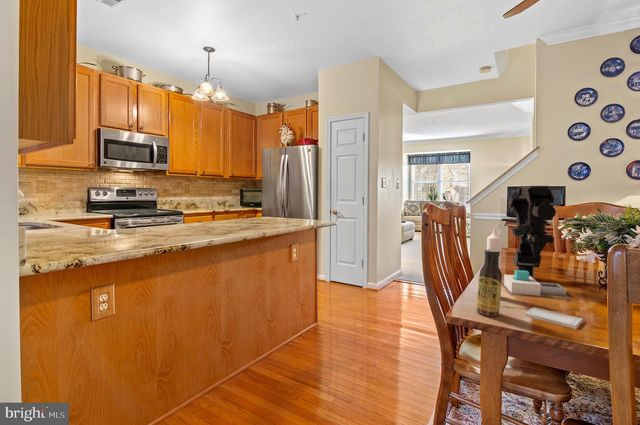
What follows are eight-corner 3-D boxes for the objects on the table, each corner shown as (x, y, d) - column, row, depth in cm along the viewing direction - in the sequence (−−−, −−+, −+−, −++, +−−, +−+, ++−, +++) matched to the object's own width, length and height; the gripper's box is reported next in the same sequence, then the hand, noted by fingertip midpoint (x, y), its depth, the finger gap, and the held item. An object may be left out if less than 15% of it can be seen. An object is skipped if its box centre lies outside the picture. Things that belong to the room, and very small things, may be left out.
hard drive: (525, 312, 98) (576, 325, 88) (534, 306, 103) (583, 317, 93) (524, 317, 98) (576, 330, 88) (534, 311, 103) (583, 323, 93)
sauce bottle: (473, 313, 99) (475, 249, 98) (480, 308, 104) (482, 247, 103) (496, 319, 95) (498, 252, 94) (503, 314, 99) (505, 250, 98)
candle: (500, 296, 116) (503, 227, 114) (506, 303, 109) (509, 229, 107) (479, 295, 118) (481, 227, 116) (483, 301, 111) (485, 229, 109)
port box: (503, 284, 128) (504, 274, 128) (530, 286, 125) (530, 276, 125) (511, 293, 117) (511, 282, 116) (540, 295, 114) (540, 284, 113)
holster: (533, 288, 122) (534, 281, 122) (558, 290, 120) (558, 283, 120) (539, 293, 116) (540, 286, 116) (565, 295, 114) (565, 288, 113)
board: (501, 285, 130) (501, 282, 130) (555, 289, 124) (555, 287, 124) (511, 297, 115) (511, 294, 115) (573, 303, 109) (573, 300, 109)
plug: (513, 288, 123) (514, 270, 123) (525, 289, 122) (526, 270, 121) (516, 290, 120) (516, 271, 120) (528, 291, 119) (529, 272, 118)
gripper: (507, 216, 136) (506, 252, 137) (519, 219, 118) (518, 261, 119) (538, 216, 133) (536, 254, 134) (555, 220, 115) (553, 263, 116)
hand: (535, 257), depth 126 cm, fingers closed
